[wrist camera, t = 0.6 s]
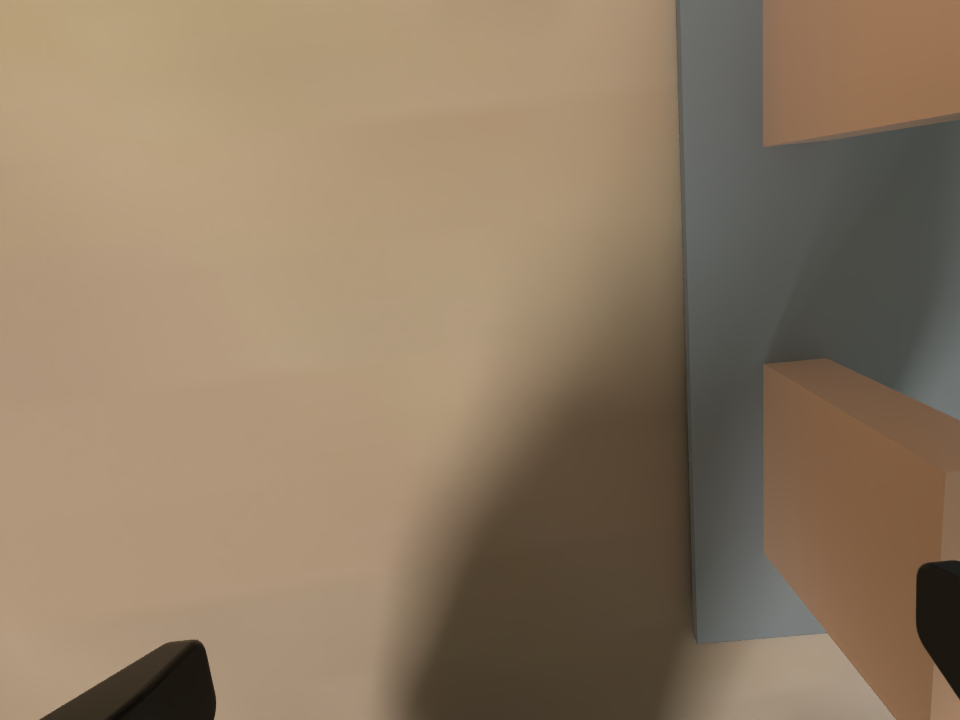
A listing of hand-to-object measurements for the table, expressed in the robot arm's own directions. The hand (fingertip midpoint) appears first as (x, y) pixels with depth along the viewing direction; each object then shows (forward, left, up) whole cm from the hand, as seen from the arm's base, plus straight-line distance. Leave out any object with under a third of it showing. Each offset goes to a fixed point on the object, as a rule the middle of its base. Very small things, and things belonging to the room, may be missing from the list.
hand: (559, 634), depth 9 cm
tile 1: (-3, -8, -12) cm, 15 cm away
